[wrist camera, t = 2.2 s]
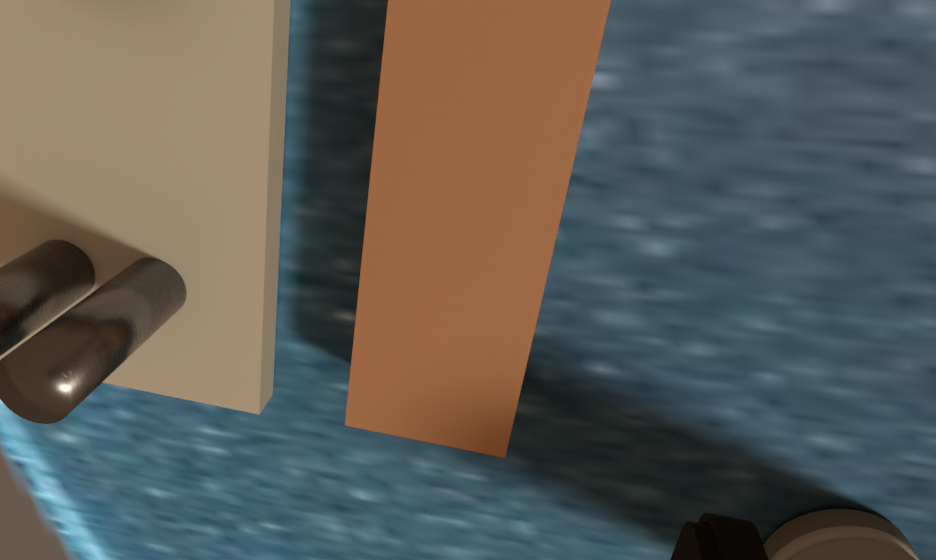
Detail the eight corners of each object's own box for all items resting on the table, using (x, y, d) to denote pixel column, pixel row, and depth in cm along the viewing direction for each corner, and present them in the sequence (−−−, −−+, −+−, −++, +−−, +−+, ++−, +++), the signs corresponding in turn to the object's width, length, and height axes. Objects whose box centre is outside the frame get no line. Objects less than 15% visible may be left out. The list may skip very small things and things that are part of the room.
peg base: (-103, -374, 20) (-150, -397, 19) (304, -306, 20) (285, -325, 18) (4, 339, 31) (-22, 357, 29) (272, 393, 30) (259, 414, 29)
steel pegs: (-23, -210, 20) (-283, -282, 14) (178, -175, 20) (5, -232, 14) (38, 290, 28) (-117, 391, 21) (187, 320, 27) (75, 430, 21)
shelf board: (436, -196, 21) (411, -226, 17) (636, -162, 21) (653, -186, 17) (370, 367, 30) (344, 425, 26) (511, 395, 29) (505, 458, 26)
